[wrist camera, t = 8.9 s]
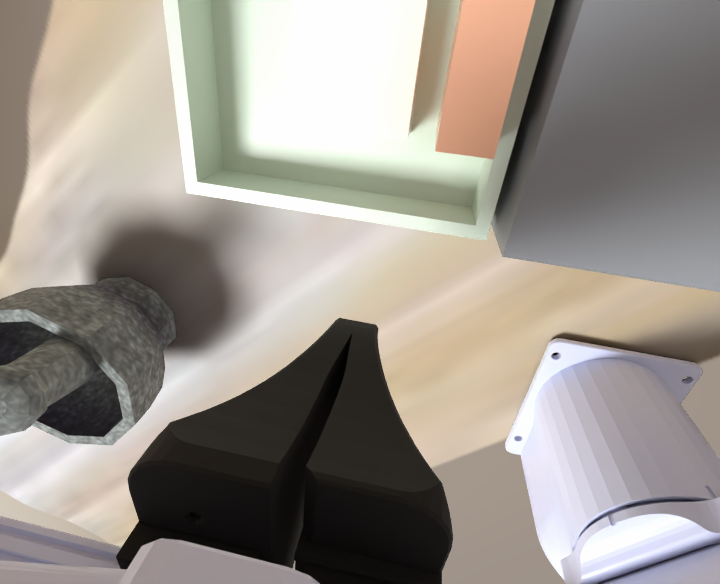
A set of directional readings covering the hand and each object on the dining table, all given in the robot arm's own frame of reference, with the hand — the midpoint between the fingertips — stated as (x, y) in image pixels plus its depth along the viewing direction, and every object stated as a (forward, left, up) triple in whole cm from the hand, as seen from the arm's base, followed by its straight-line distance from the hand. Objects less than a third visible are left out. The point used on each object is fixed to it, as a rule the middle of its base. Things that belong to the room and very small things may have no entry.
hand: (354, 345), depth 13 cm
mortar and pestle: (-8, +16, -10) cm, 20 cm away
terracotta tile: (+8, -4, -6) cm, 11 cm away
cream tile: (+8, +2, -7) cm, 11 cm away
